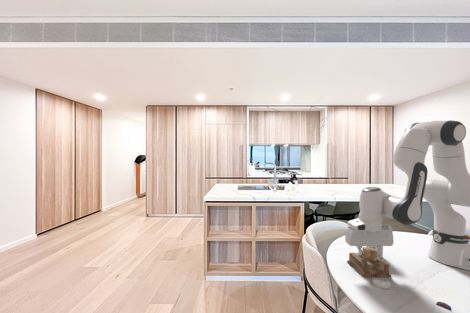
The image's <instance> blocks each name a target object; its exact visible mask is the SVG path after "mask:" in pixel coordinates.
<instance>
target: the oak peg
mask: <svg viewBox="0 0 470 313" xmlns="http://www.w3.org/2000/svg"><path fill="white" fill-rule="evenodd" d="M362 251H364V255H362V259H363V260H365V261H366V262H377V251H376V250H374V249H373V248H369V247H366V246H362Z"/></svg>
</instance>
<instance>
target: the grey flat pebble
mask: <svg viewBox="0 0 470 313" xmlns="http://www.w3.org/2000/svg"><path fill="white" fill-rule="evenodd" d="M371 282H372V285H373V286H375V287H377V288H379V289H382V290H390V289H391V282H390V281H388V280H387V279H385V278H384V277H372V280H371Z"/></svg>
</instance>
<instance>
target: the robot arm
mask: <svg viewBox="0 0 470 313" xmlns="http://www.w3.org/2000/svg"><path fill="white" fill-rule="evenodd" d="M466 134H467V130H466V126H465V125H464V124H463V123H462V122H461V121H458V120H431V121H424V122H414V123H411V124H408V126H407V127H406V129H405V130H404V133H403V134H402V136H401V137H400V139H399V141H398V142H397V145H396V146H395V147H396V148H395V150H394V153H393V155H392V162H393V164H394V165H395V167H396V168H397V169H399V170H400V171H402V172H404V173H405V174H406V175H407V184H406V188H405V194H404V196H403V197H398V196H395V195H391V194H389V193H387V192H385V191H383V189H381V188H380V187H377V186H372V187H371V186H368V187H365V188H363V189H362V190H361V192H360V194H359V206H358V207H359V214H358V217H356V218H354V219H350V220H348V221H347V226H348V227H346V230H345V234H344V235H345V238H344V239H345V243H346V244H347V245H349V246H350V247H356V248H357V251H358V253H359V255H364V251H363V247H366V246H376V249H375V250H376V251H377V255H379V251H380V250H381V249H382V246H383V247H392V246H393V245H394V234H393V232H394V231H393V230H394V227H392V225H390V224H388V223H385V224H383V217H386V218H388V219H389V218H390V219H392V220H395V221H396V222H399V223H400V224H402V225H404V226H411V225H414V224H416V223H418V222H419V221H420V219H422V214H423V199H424V200H425V201H426V202H427V203H428V204H429V206H430V207H431V209H432V212H433V228H432V233H431V234H432V238H431V242H430V247H429V249H428V254H427V255H428V257H429V258H430V259H432V260H433V261H435V262H438V263H441V264H443V265H447V266H450V267H455V268H459V269H462V270H465V271H470V242H469V240H470V234H466V231H467V230H466V229H467V228H466V226H467V221H466V218H465V216H464V215H462V214H461V213H460V212H458V211H456V210H455V209H454V208H453V207H452V205H454V206H455V205H456V206H461V207H466V208H470V173H469V171H468V168H467V165H466V158H465V157H466V156H465V148H464V147H465V146H464V143H463V141H464V139H465V138H466ZM429 146H431V150H432V151H431V156H432V165H433V170H434V171H435V173H436V174H438V175H440V176H442V177H443V178H445V179H446V180H441V179H428V173H429V172H428V171H429V170H428V167H427V166H426V164H425V161H426V160H425V159H426V156H427V154H428V150H429Z"/></svg>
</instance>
